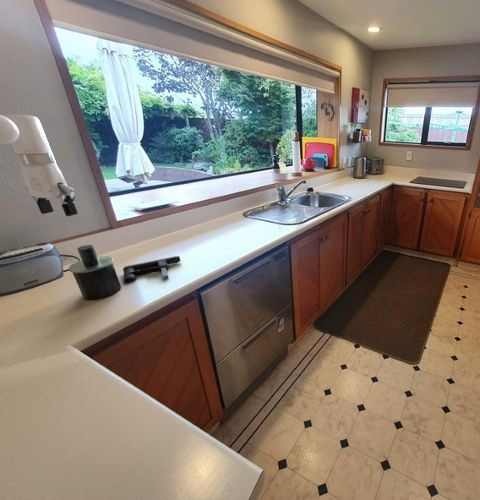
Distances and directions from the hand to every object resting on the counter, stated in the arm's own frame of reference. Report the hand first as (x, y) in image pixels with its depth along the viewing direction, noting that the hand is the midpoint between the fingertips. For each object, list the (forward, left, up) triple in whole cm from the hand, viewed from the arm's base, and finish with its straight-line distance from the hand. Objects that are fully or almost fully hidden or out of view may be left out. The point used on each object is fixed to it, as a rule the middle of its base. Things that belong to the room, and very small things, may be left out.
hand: (59, 213), depth 92 cm
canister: (+5, -7, -28) cm, 30 cm away
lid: (+5, -7, -17) cm, 19 cm away
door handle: (+20, +2, -28) cm, 35 cm away
